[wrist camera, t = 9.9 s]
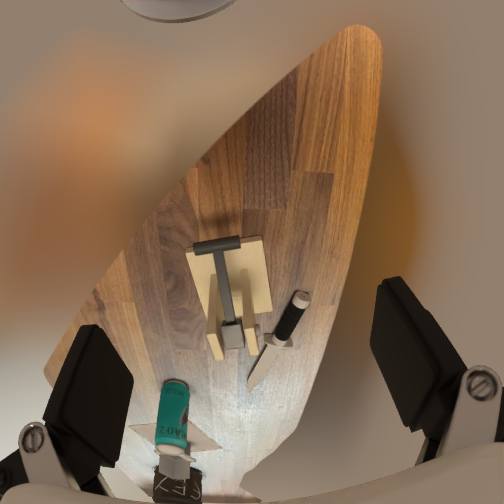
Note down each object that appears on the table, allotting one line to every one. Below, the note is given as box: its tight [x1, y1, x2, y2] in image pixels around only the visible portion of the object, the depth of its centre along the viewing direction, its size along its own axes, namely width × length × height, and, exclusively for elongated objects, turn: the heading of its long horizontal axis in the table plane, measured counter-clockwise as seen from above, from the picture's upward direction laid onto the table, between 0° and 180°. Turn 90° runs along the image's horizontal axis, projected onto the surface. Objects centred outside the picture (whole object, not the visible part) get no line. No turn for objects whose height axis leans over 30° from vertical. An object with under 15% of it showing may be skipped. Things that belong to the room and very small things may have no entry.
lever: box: [193, 235, 245, 350], centre depth 33 cm, size 12×5×2 cm, turn 9°
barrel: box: [152, 466, 202, 504], centre depth 77 cm, size 18×18×16 cm
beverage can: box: [154, 380, 190, 456], centre depth 48 cm, size 6×6×15 cm
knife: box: [247, 291, 311, 393], centre depth 49 cm, size 26×2×5 cm
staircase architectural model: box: [128, 420, 223, 479], centre depth 63 cm, size 19×21×12 cm
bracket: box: [186, 235, 273, 360], centre depth 37 cm, size 12×10×13 cm
